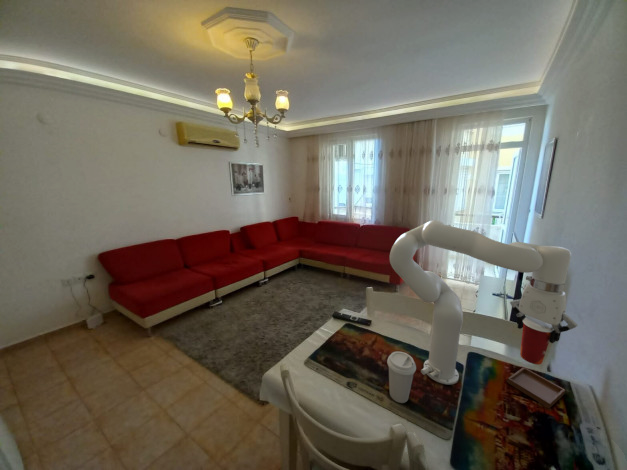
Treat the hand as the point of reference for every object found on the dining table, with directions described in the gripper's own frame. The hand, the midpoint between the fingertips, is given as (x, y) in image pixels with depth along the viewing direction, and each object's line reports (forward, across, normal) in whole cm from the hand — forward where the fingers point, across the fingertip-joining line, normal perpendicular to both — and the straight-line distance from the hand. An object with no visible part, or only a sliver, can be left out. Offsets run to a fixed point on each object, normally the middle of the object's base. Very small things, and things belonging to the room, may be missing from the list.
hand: (536, 333), depth 79 cm
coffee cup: (+26, -20, -38) cm, 50 cm away
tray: (+26, 0, +9) cm, 27 cm away
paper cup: (+10, 0, 0) cm, 10 cm away
